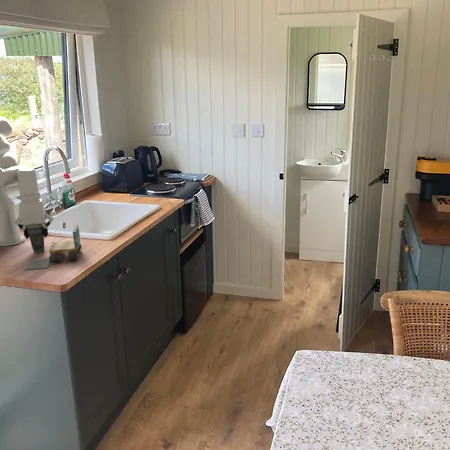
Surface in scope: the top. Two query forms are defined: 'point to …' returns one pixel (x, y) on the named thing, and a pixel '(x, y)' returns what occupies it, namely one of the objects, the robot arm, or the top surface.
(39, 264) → the mat
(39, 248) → the beverage cup
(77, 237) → the trolley
